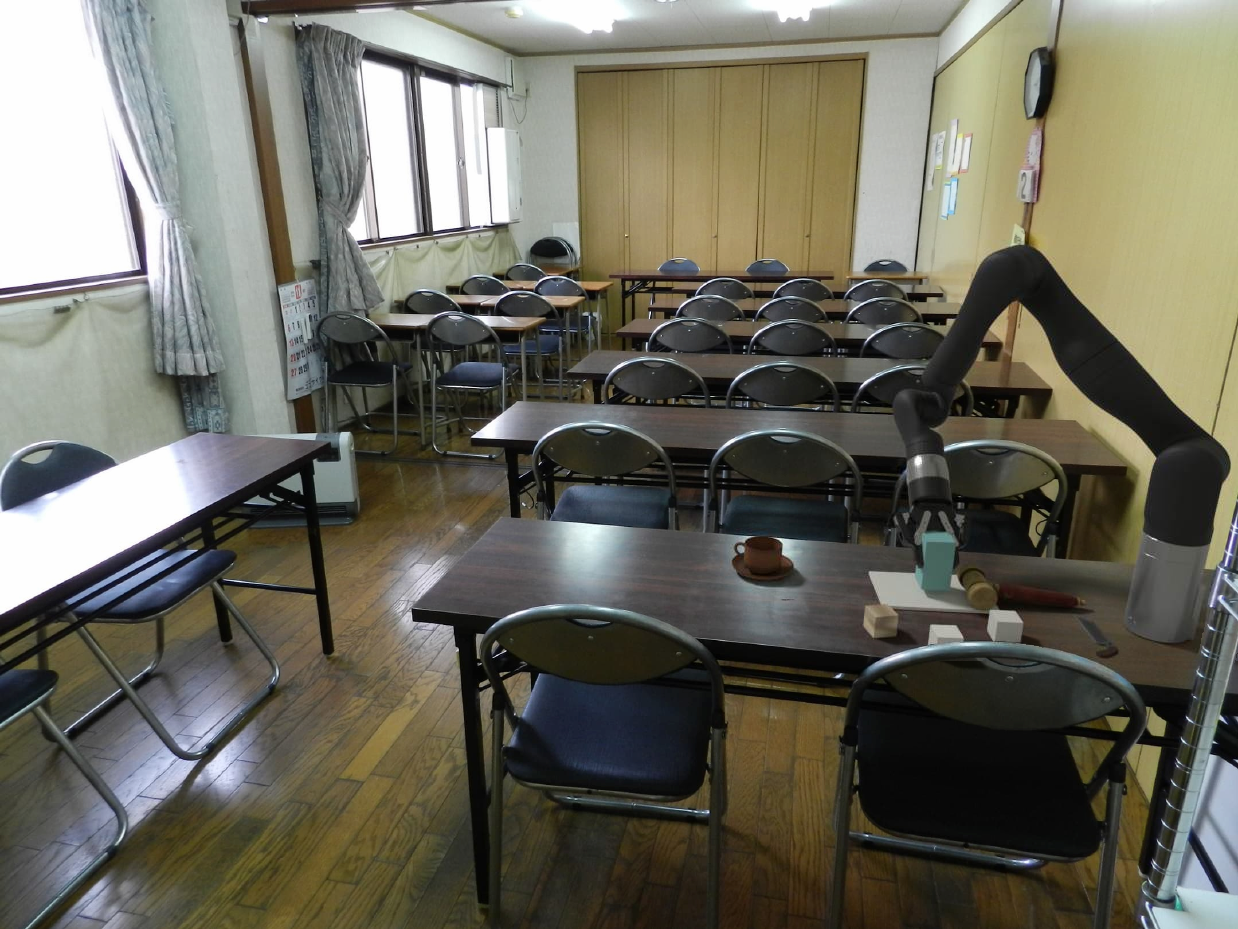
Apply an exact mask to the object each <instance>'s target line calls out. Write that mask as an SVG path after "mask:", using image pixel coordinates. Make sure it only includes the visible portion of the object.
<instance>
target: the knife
mask: <svg viewBox="0 0 1238 929" xmlns="http://www.w3.org/2000/svg"><path fill="white" fill-rule="evenodd" d="M1072 616H1073V617H1074V619H1075V620H1076V621H1077V622H1078V623H1079V625H1080V626H1081V627H1082V628H1083V630H1084V631H1085V633H1086V634H1087V635H1088V637H1089V638H1090V639H1091V641H1092V642H1093V643H1094V644H1096V645H1097V646H1098V645H1099V646H1105V647H1107V649H1102V650H1097V651H1096V652H1095V655H1096V657H1098V658H1103V659H1106V658H1107V659H1108V658H1111V657H1113V656H1115V655H1117V653H1118V648H1117V647H1116V645H1115V643H1113V642H1112V641H1111V640H1110V639H1109V638H1108V637H1107V636H1106V633H1104V632H1103V630H1102V629H1101V628H1100V627H1099V626H1098V624H1097V623H1096V622H1095V621H1092V620H1090V619H1087V618H1085V617H1082V616H1080V615H1077V614H1072Z"/></svg>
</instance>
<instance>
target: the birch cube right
mask: <svg viewBox="0 0 1238 929" xmlns="http://www.w3.org/2000/svg"><path fill="white" fill-rule="evenodd" d="M863 617H864V618H863V628H864V629H865V630H866V631H867V633H868V634H869V635H870V636H871V638H873V639H878V638H880V639H881V638H890V637H891V638H892V637H897V633H898V623H899V614H898V613H897V612H896V611H895V609H892V608H891V607H890V606H889V605H888V604H881V603H879V604H871V605H870V604H869V605H864V614H863Z"/></svg>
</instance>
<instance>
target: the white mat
mask: <svg viewBox="0 0 1238 929" xmlns="http://www.w3.org/2000/svg"><path fill="white" fill-rule="evenodd" d="M868 576H869V578H870V580H871V583H872V586H873V588H874V591H875V594H876V595H877V598H878V600H879V604H888V605H889V606H890V607H891V608H892V609H893V610H902V611H903V610H904V611H927V612H944V613H946V612H948V613H967V614H969V613H970V614H988V615H989V614H990V610H1000V608H999V606H998V605H997V603H996V604H995V606H994V607H992V608H991V609H989V610H984V611H981V610H977V609H975V608H974V607H973V606H972V605H971V604H970V602H969V600H968V597H967V592H966V590H965V588H964V587H962V586H961V584H960V582H959V580H958V578H957V574H952V577H951V585H950V591H945V590H922V589H921V588H920V586H919V584H918V582H917V580H916V578H915V572H913V573H912V572H897V571H896V572H893V571H891V572H890V571H871V570H870V571H868Z"/></svg>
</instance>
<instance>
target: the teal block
mask: <svg viewBox="0 0 1238 929" xmlns="http://www.w3.org/2000/svg"><path fill="white" fill-rule="evenodd" d="M921 546H922V547H923V557H924V566H923V568H922V569H919V568H918V566H917V565H915V572H914V573H915V578H916V580H917V582H918V584H919V586H920V588H921V589H922V590H945V591H950V585H951V577H952V575H953V571H954V570H953V562H954V554H955V547H956V542H955V540H954V539H953V537H952V536H951V535H950V534H947V533H946V532H945V531H925V533H922V543H921Z"/></svg>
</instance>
